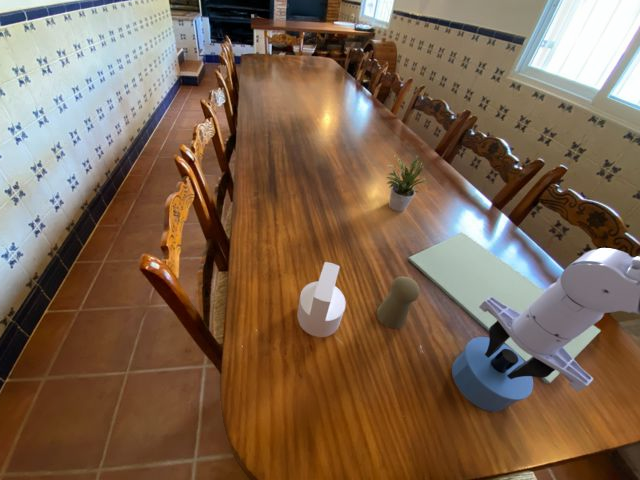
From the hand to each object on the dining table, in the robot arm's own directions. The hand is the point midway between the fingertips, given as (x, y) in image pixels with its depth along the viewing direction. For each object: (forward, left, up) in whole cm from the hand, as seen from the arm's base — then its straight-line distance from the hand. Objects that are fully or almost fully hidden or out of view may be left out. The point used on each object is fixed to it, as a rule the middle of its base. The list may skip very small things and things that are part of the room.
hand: (500, 363), depth 49 cm
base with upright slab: (+25, +19, -7) cm, 32 cm away
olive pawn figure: (+18, +5, -7) cm, 20 cm away
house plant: (+47, -26, -7) cm, 54 cm away
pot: (0, 0, -7) cm, 7 cm away
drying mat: (+11, -22, -7) cm, 25 cm away
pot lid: (0, 0, -1) cm, 1 cm away
